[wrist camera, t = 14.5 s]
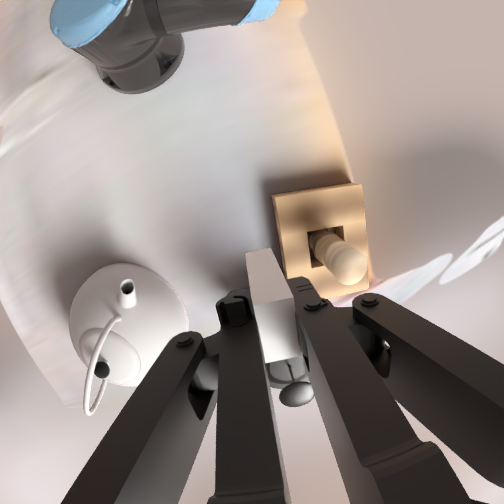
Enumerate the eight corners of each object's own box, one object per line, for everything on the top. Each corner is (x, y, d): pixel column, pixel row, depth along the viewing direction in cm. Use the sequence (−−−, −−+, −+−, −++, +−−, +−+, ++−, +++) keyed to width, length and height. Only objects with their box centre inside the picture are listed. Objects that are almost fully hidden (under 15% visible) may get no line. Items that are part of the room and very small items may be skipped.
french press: (305, 283, 50) (353, 363, 28) (296, 328, 52) (332, 419, 30) (238, 279, 49) (244, 365, 27) (234, 326, 51) (237, 423, 29)
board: (271, 195, 45) (275, 197, 42) (351, 182, 46) (361, 184, 42) (287, 296, 51) (291, 306, 47) (359, 280, 51) (368, 288, 47)
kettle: (95, 231, 45) (16, 276, 24) (210, 281, 49) (196, 363, 27) (75, 338, 51) (25, 405, 29) (170, 379, 55) (150, 464, 33)
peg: (304, 229, 47) (331, 253, 34) (331, 224, 47) (367, 246, 34) (308, 257, 49) (334, 289, 35) (334, 251, 49) (368, 281, 35)
